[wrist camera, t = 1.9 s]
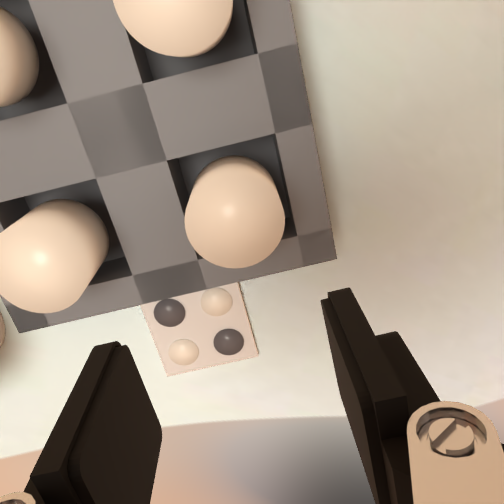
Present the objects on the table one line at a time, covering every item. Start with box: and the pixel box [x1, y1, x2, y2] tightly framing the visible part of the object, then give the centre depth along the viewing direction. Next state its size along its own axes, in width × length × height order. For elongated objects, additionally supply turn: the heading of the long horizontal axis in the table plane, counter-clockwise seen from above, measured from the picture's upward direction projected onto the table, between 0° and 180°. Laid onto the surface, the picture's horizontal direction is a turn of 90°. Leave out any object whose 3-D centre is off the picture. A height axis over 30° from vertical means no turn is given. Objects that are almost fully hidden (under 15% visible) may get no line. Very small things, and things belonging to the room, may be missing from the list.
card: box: [140, 282, 258, 377], centre depth 33 cm, size 7×7×1 cm
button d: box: [0, 199, 109, 313], centre depth 24 cm, size 5×5×4 cm
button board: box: [0, 0, 337, 333], centre depth 26 cm, size 20×20×4 cm
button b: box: [184, 155, 285, 268], centre depth 24 cm, size 5×5×4 cm
